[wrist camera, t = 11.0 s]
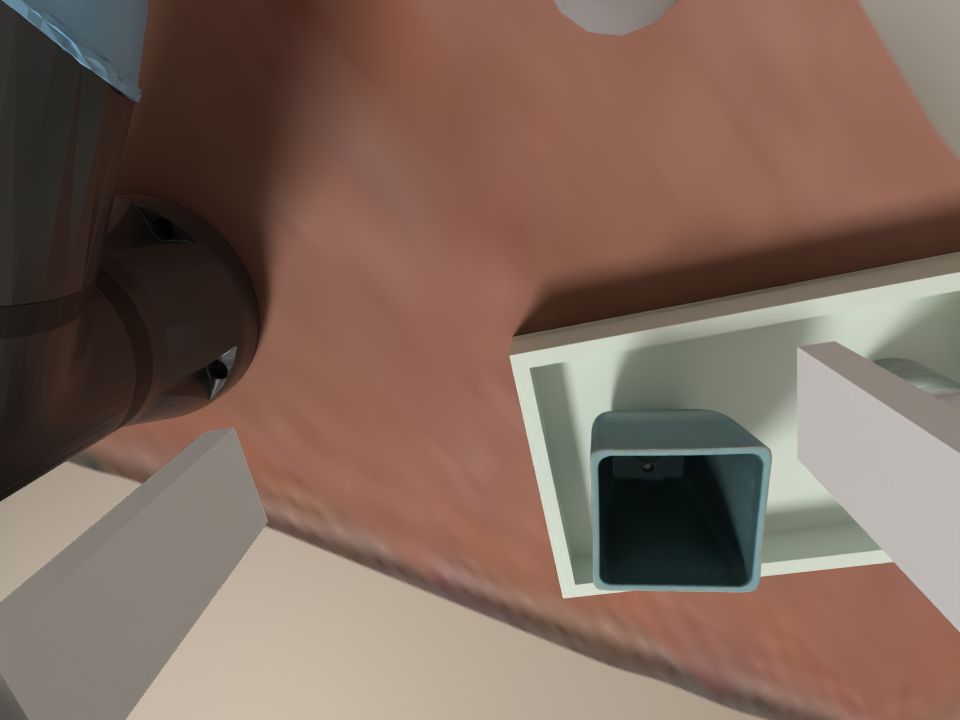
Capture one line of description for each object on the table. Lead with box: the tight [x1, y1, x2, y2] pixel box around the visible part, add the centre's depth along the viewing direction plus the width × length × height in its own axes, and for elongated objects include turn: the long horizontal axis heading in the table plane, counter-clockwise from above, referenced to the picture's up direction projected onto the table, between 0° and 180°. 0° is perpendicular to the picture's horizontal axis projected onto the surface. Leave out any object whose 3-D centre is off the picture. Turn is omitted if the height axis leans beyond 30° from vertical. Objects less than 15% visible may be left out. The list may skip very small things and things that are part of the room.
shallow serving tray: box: [510, 252, 960, 598], centre depth 35 cm, size 28×18×4 cm, turn 103°
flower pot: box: [590, 409, 772, 593], centre depth 33 cm, size 9×9×9 cm
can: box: [872, 358, 960, 411], centre depth 31 cm, size 7×7×8 cm
